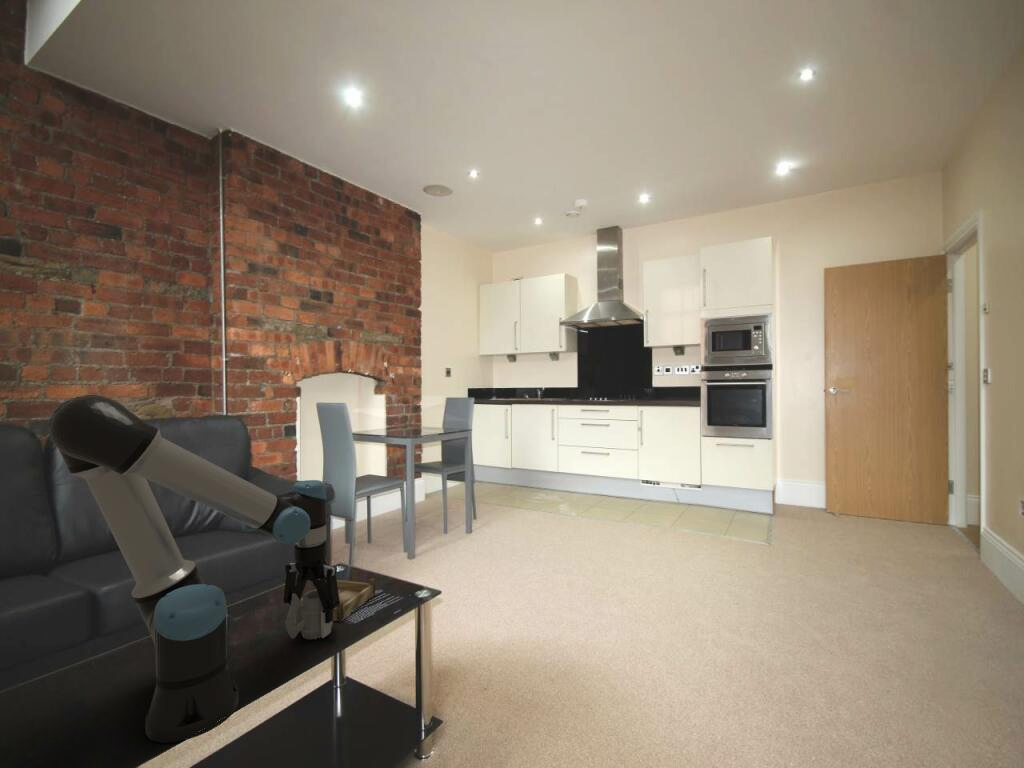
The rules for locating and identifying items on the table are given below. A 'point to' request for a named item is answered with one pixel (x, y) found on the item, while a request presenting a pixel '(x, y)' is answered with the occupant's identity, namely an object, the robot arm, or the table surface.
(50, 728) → the table surface
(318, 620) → the mug
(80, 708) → the table surface
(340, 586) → the wooden tray
